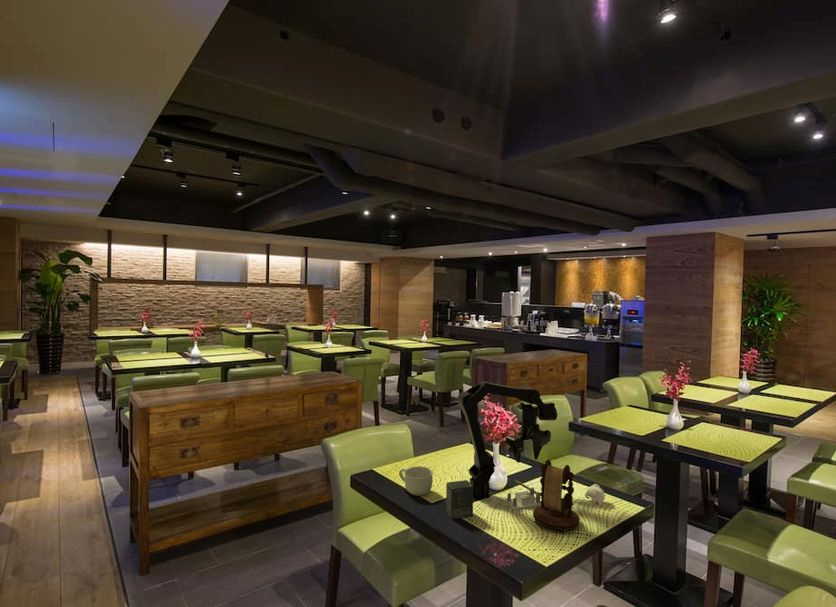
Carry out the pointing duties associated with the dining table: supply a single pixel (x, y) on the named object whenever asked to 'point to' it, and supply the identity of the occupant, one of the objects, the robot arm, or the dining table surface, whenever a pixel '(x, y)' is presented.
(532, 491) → the strap
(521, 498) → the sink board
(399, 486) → the dining table surface
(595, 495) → the elephant figurine
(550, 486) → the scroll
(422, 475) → the teacup
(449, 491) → the box
